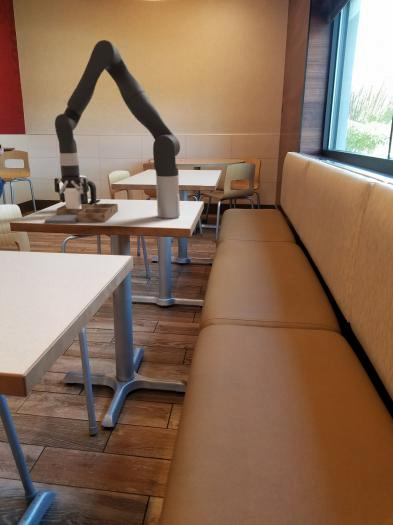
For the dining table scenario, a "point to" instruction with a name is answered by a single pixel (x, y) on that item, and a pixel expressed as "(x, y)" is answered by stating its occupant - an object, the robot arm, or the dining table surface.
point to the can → (72, 198)
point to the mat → (62, 218)
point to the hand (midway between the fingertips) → (73, 202)
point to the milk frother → (92, 191)
